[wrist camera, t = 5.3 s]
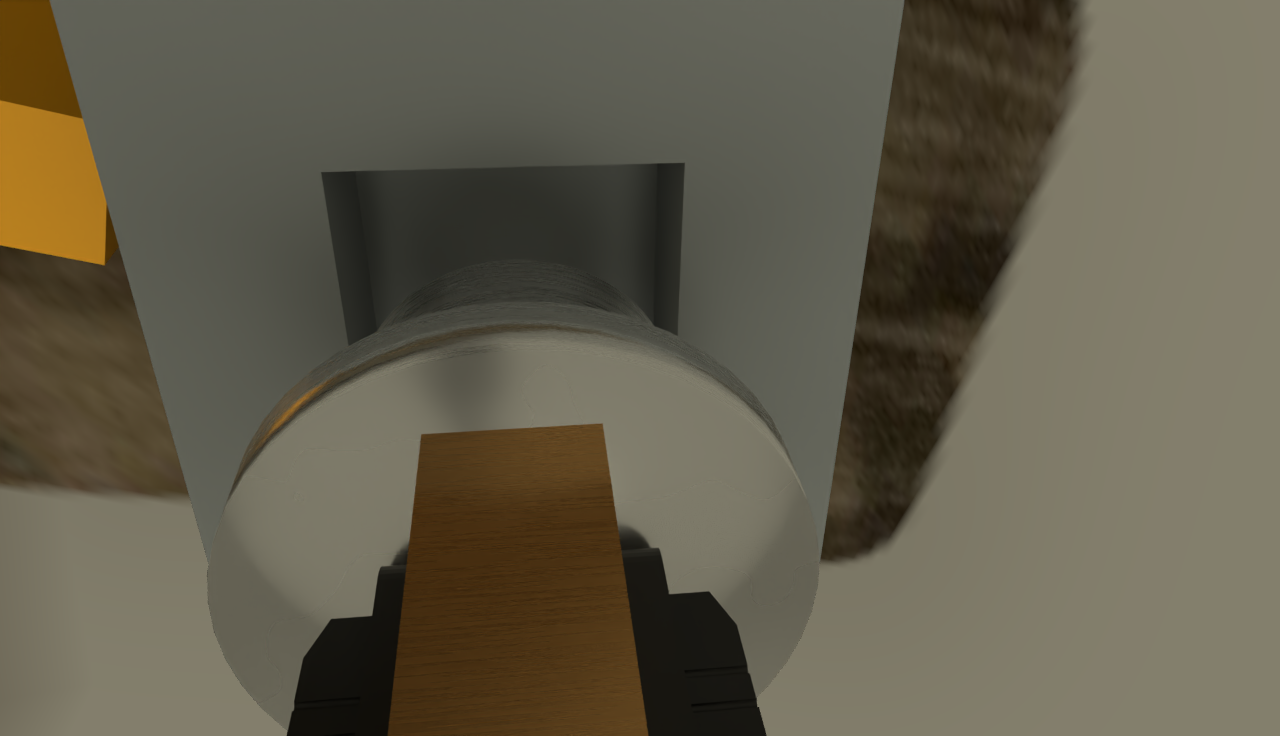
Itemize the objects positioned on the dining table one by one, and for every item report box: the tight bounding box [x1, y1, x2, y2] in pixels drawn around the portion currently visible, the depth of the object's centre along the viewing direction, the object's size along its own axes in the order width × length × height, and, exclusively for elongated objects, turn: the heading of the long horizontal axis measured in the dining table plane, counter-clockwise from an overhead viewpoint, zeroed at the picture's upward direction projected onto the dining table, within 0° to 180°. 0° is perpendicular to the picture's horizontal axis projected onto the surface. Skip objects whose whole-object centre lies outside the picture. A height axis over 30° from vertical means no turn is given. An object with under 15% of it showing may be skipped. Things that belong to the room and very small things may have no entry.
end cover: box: [207, 260, 820, 736], centre depth 11 cm, size 7×7×9 cm
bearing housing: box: [50, 0, 904, 564], centre depth 20 cm, size 12×12×8 cm
